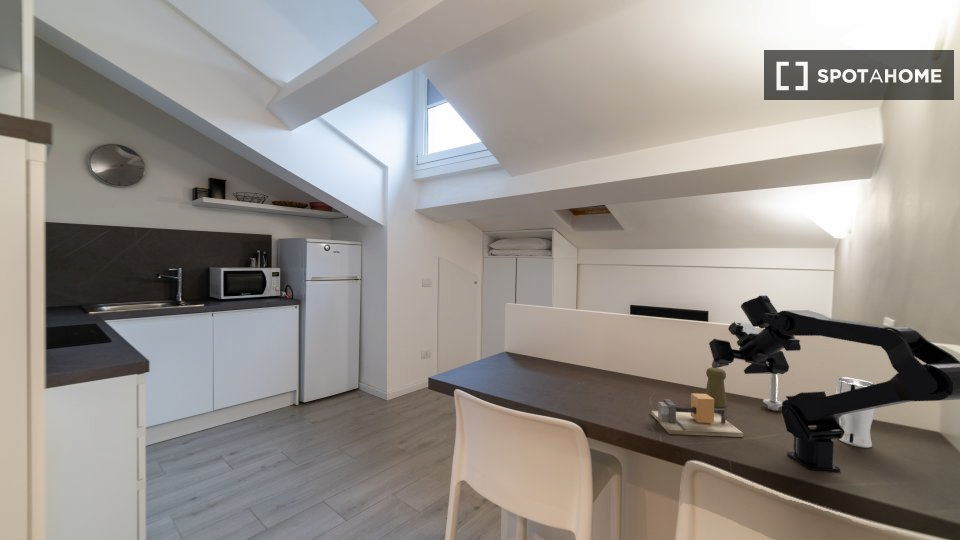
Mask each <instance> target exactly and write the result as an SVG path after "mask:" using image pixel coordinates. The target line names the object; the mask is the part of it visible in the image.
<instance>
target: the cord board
mask: <svg viewBox="0 0 960 540" xmlns="http://www.w3.org/2000/svg"><path fill="white" fill-rule="evenodd" d="M650 412H651V413H650V414H651V415H652V416H653V417H654V419H655V420H657V422H658V423H659V424H660V425H661V426H662V428H664V430H665V431H666V432H667V433H668V434H669V435H687V436H688V435H689V436H690V435H691V436H709V437H710V436H712V437H715V436H716V437H733V438H735V437H736V438H739V437H740V438H743V437H744V432H742V431H741V430H740V429H738V428H737V427H736V426H734V425H733V424H732V423H731V422H729V421H727V417H726V411H725V409H724V408H714V423H706V422H697V421H696V420H695V419H694V418H693V417H692V416H691V412H693V413H696V408H691V407H684V406H683V407H682V406H681V407H679V406H677V405H676V403H674V402H673V401H672V400H671V399H670V398H663V401H658V402H657V410H651V411H650Z"/></svg>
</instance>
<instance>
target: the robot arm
mask: <svg viewBox="0 0 960 540" xmlns="http://www.w3.org/2000/svg"><path fill="white" fill-rule="evenodd" d="M740 308H741V310H742V312H743V313H744V314H745V316H746V317H747V319H748V321H749V322H750V323H746V322H745V323H743V322H738V321H737V322H736V321H733V322H732V323H731V324H730V325H729V326H728V329H727V330H728V331H729V333H730V334H731V335H732V336H735V337H736V338H737V341H736V344H737V346H739V349H734V348H732V345H731V342H730V341H728V340H725V339H718V338H713V339H712V340H710V341H709V342H708V345H709V348H710V349H709V350H710V352H711V355H712V359H713V360H712V362H711V366H712V367H711V368H722V367H727V366H730V365H731V364H732V363H733V362H734V361H735V360H739V361H744V362H745V363H748V364H749V365H748V366H747V367H746V368H744V370H743V372H744V374H745V375H757V374H758V375H759V374H760V375H763V374H764V375H765V374H766V375H770V374H777V375H778V374H780V375H784V374H786V373H788V372H789V369H790V366H789V363H788V361H787V358H786V357H785V353H784V352H783V351H782V350H783V349H784V350H785V351H786V352H792V351H793V352H794V351H795V352H796V351H797V352H799V351H801V350H802V348H801V347H802V346H801V344H800V343H801V340H800V339H797V338H796V336H800V337H802V336H805V337H806V336H808V337H811V336H812V337H813V336H815V337H816V336H817V337H823V338H824V337H826V338H830V339H831V338H832V339H837V340H840V341H841V340H842V341H847V342H853V343H859V344H865V345H871V346H876V347H880V348H882V349H883V350H884V352H885V353H886V355H887V356H888V357H887V358H888V359H889V361H890V364H891V366H892V368H893V369H894V370H895V371H896V372H897V373H895V374H894V375H893V376H892V377H891V378H890V379H889V380H887V381H882V382H879V383H876V384H875V383H874V384H875V385H871V386H867V387H862V388H858V389H854V390H850V391H846V392H842V393H838V394H836V393H834V394H831V395H827V394H826V392H825V390H824V391H806V392H805V391H804V392H799V393H797V394H795V395H786V396H785V398H786V399H785V400H783V401H781V402H782V406H781V414H782V417H783V421H784V424H785V429H786V431H787V433H790V434H791V435H792V436H793V451H787V455H788V456H789V457H791V458H792V459H793V460H795V461H796V462H798V463H800V465H802V466H803V467H805V468H806V469H807V470H811V471H812V470H813V471H833V472H841V468H840V467H839V466H838V465H836V464H835V463H833V462H834V446H835V445H834V444H835V443H834V441H833V440H835V439H838V440H839V439H841V438H842V437H843V435H844V433H845V431H844V430H843V428H842V427H841V426H840V423H839V422H838V420H839V417H840V416H842V415H844V414H849V413H854V412H859V411H865V410H870V409H875V408H876V409H879V408H885V407H890V406H895V405H899V404H905V403H910V402H937V401H941V402H942V401H955V400H960V360H958V359H957V358H956V357H955V356H954V355H952V353H949V352H948V351H946V350H944V349H942V348H941V347H939V346H938V345H936V344H934V343H933V342H930V341H929V340H927V339H926V338H925V337H924V336H923V335H922V334H921V333H919V331H917V330H916V329H913V328H911V327H907V326H892V325H891V326H889V325H884V324H883V325H882V324H876V323H867V322H860V321H851V320H844V319H836V318H831V317H828V316H827V315H825V314H822V313H819V312H815V311H812V310H807V309H806V310H805V309H803V310H797V309H796V310H780V311H779V312H778V310H777V309H776V307H775V306H774V305H773V303H772V302H771V299H770V298H769V297H768V295H759V296H757V297H754V298H751V299H748V300H747V301H743V302H742V303H741V305H740ZM758 328H759V329H762V330H760V331H759V329H758ZM920 361H921V362H923V363H924V364H923V363H921V362H920Z"/></svg>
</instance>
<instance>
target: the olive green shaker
mask: <svg viewBox="0 0 960 540" xmlns="http://www.w3.org/2000/svg"><path fill="white" fill-rule="evenodd" d="M705 373H706V377H707V384H706V389H705V393H704V394H707V395H709V396H710V397H712V398H713V399H714V408H716V407H717V408H726V407H727V406H728V404H727V396H726V388H725V387H726V386H725V382H724V381H725V380H726V378H727V374H726V371H725V370H724V369H722V368H721V367H718V368H712V367H709V368H707V369H706V371H705Z"/></svg>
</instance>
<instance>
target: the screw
mask: <svg viewBox="0 0 960 540" xmlns="http://www.w3.org/2000/svg"><path fill="white" fill-rule="evenodd" d="M778 376H779V375H778V373H777V374H771V375H770V385H769V386H770V388H769V389H770V390H769V395H770V396H769V398H763V400H762V402H763V403H764V404H766V405H767V409H768V410H770V411H777V412H779V408H780V407H781V408H782V402H783V401H781V400H778V389H779V387H778V383H779V379H778Z"/></svg>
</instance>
